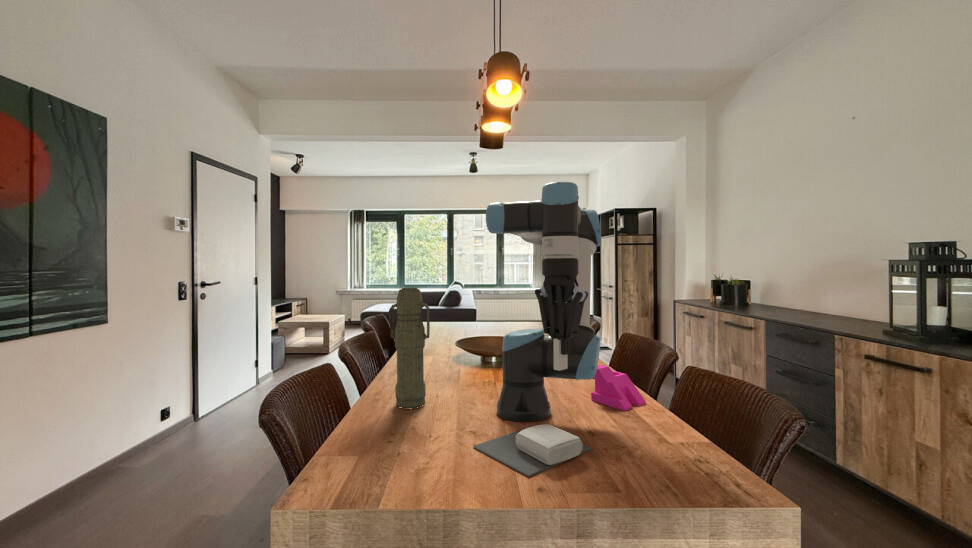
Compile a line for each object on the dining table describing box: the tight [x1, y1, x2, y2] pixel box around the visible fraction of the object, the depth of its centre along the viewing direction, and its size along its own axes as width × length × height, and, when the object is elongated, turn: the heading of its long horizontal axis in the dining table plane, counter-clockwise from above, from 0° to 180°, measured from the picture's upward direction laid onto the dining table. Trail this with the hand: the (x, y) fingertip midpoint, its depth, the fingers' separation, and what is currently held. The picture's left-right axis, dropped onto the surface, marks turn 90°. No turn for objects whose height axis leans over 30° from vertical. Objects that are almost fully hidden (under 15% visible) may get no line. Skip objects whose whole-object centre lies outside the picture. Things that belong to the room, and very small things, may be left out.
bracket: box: [590, 364, 647, 412], centre depth 131 cm, size 12×10×10 cm
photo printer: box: [515, 424, 583, 465], centre depth 95 cm, size 10×4×12 cm
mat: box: [472, 424, 593, 478], centre depth 98 cm, size 18×20×1 cm
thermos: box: [388, 287, 431, 409], centre depth 129 cm, size 9×12×35 cm
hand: (560, 368), depth 91 cm, fingers closed
